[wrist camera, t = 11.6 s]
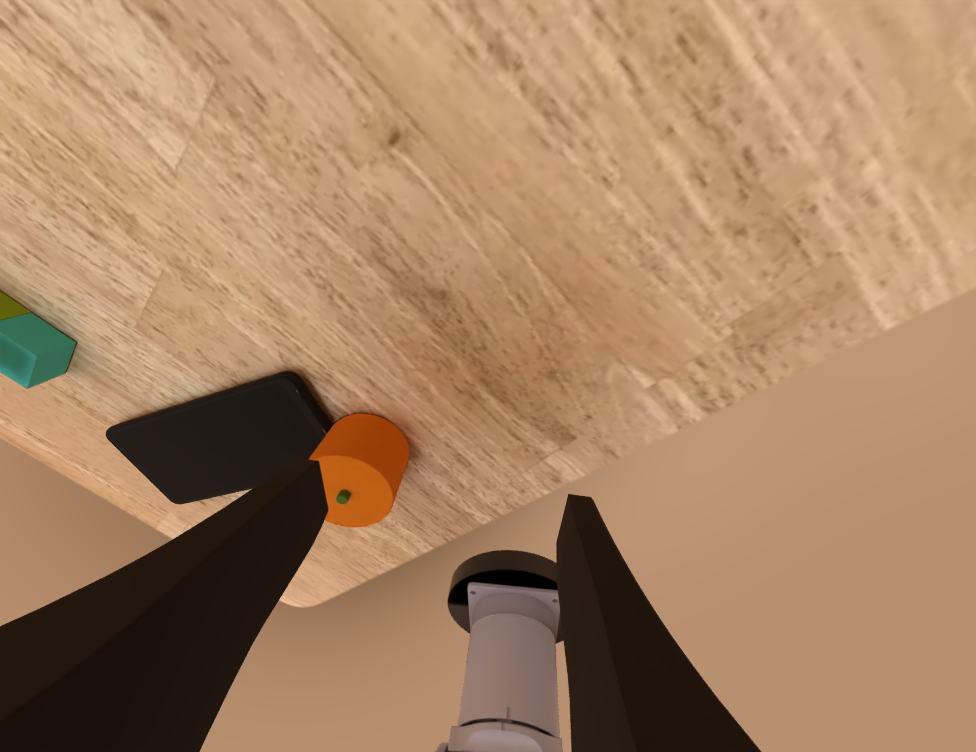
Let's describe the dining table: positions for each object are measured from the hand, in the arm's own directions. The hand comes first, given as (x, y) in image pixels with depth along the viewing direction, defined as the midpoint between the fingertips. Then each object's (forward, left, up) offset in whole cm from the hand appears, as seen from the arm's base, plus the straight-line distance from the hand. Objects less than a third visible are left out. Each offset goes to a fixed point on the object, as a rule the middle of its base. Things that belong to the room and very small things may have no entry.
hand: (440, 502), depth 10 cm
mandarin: (-6, +7, -9) cm, 13 cm away
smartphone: (-6, +16, -9) cm, 20 cm away
